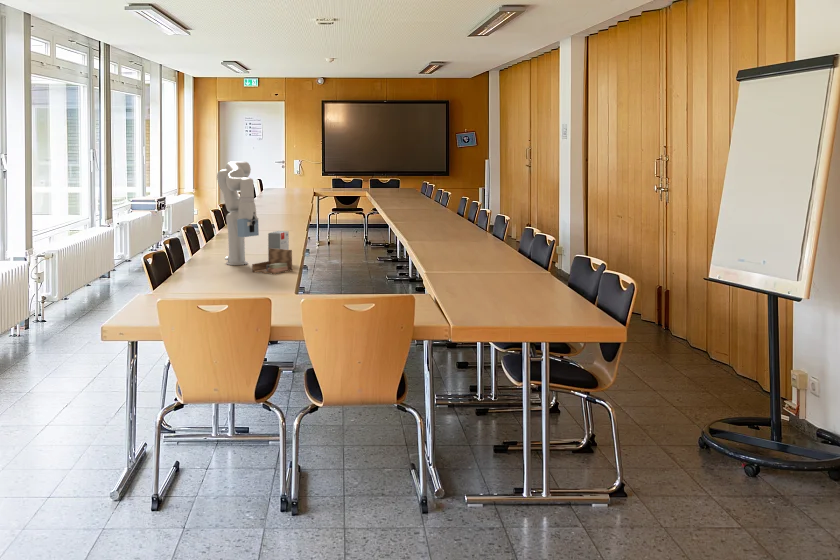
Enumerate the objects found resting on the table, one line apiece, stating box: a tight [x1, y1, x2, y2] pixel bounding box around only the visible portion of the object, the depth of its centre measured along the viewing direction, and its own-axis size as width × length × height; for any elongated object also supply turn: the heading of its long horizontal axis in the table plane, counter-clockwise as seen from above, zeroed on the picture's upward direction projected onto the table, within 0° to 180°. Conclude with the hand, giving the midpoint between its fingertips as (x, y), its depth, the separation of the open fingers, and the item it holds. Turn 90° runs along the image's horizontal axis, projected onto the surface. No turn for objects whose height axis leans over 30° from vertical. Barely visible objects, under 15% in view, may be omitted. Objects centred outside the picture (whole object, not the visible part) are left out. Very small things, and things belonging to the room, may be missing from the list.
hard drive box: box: [267, 230, 290, 261], centre depth 526 cm, size 16×8×20 cm, turn 168°
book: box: [237, 219, 260, 238], centre depth 501 cm, size 5×12×10 cm, turn 149°
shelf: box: [251, 248, 293, 275], centre depth 502 cm, size 16×16×12 cm
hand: (248, 231), depth 501 cm, fingers closed on book, 5 cm apart
